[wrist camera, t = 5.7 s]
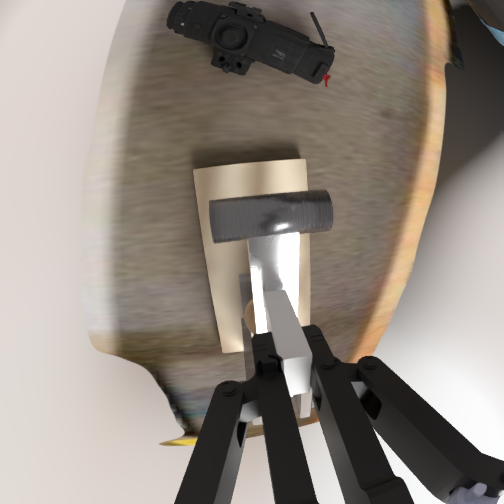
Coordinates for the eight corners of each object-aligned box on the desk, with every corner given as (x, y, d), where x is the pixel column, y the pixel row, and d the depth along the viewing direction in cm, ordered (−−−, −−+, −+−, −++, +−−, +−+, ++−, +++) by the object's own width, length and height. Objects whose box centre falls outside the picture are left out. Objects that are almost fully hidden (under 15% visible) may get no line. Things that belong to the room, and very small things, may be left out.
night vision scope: (180, 39, 26) (204, -27, 17) (311, 87, 30) (349, 28, 21) (151, 57, 21) (175, -27, 13) (311, 114, 25) (361, 40, 17)
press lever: (319, 184, 17) (334, 197, 15) (306, 376, 28) (311, 395, 25) (209, 194, 17) (207, 209, 15) (242, 385, 27) (244, 405, 25)
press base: (301, 158, 30) (359, 164, 16) (306, 333, 38) (337, 412, 24) (195, 168, 29) (165, 181, 15) (223, 343, 38) (223, 430, 24)
